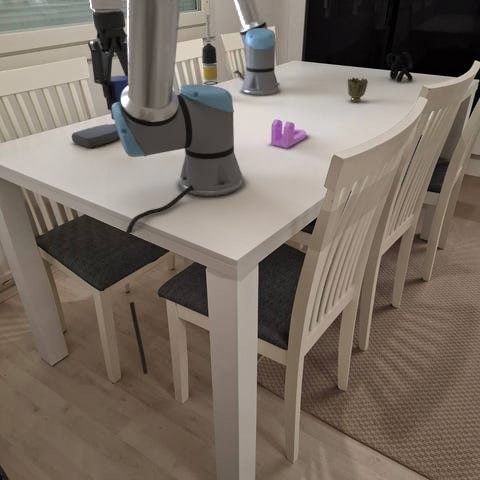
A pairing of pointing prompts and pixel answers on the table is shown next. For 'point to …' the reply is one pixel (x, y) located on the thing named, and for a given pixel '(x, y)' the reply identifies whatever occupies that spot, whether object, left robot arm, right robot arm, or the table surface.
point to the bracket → (285, 134)
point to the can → (118, 87)
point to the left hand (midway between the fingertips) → (122, 106)
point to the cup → (357, 88)
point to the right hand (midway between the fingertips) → (341, 15)
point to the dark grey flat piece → (96, 135)
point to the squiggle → (399, 66)
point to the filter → (209, 58)
